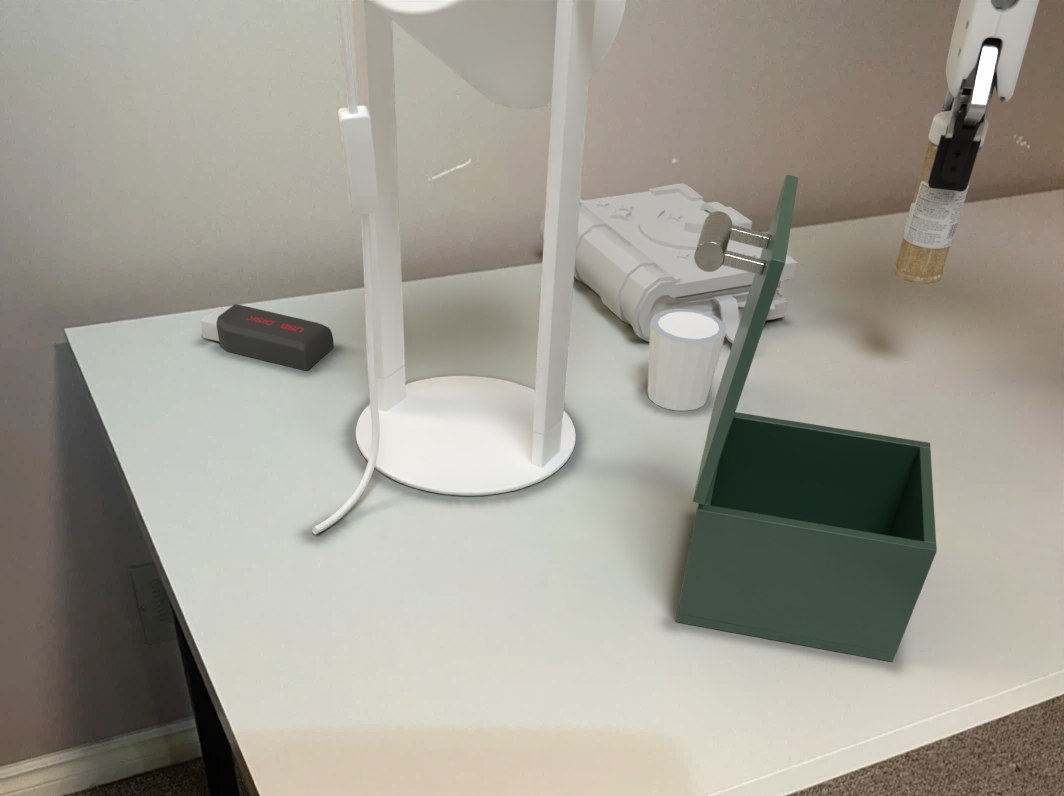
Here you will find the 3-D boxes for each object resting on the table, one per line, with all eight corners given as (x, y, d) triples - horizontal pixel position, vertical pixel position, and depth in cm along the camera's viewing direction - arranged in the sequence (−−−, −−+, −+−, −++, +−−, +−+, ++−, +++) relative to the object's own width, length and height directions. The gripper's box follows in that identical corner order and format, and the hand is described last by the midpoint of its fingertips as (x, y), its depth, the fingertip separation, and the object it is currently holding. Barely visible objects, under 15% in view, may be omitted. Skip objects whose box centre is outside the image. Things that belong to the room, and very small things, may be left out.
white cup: (679, 370, 104) (691, 300, 99) (728, 401, 101) (742, 330, 96) (626, 389, 101) (634, 318, 96) (674, 421, 98) (686, 349, 93)
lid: (798, 176, 68) (722, 157, 68) (785, 262, 59) (697, 239, 59) (724, 404, 80) (659, 387, 80) (703, 505, 71) (630, 485, 71)
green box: (891, 550, 85) (930, 442, 78) (892, 662, 76) (937, 550, 69) (697, 517, 87) (718, 408, 80) (675, 622, 78) (696, 509, 71)
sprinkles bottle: (909, 262, 102) (952, 105, 93) (951, 277, 100) (1000, 118, 90) (881, 275, 100) (923, 115, 90) (924, 291, 97) (972, 128, 88)
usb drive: (308, 371, 101) (305, 343, 99) (198, 344, 104) (193, 317, 102) (334, 347, 105) (331, 320, 103) (227, 322, 107) (223, 295, 105)
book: (657, 372, 104) (669, 295, 99) (534, 257, 121) (538, 186, 116) (820, 340, 110) (839, 266, 105) (681, 235, 128) (691, 167, 122)
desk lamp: (635, 407, 99) (721, -244, 67) (446, 590, 79) (439, -210, 47) (446, 345, 106) (441, -273, 74) (228, 499, 86) (92, -255, 54)
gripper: (1086, -56, 74) (996, 217, 87) (1057, -93, 86) (982, 152, 99) (974, -64, 76) (902, 207, 88) (961, -100, 87) (899, 144, 100)
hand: (945, 175), depth 94 cm, fingers closed on sprinkles bottle, 4 cm apart
